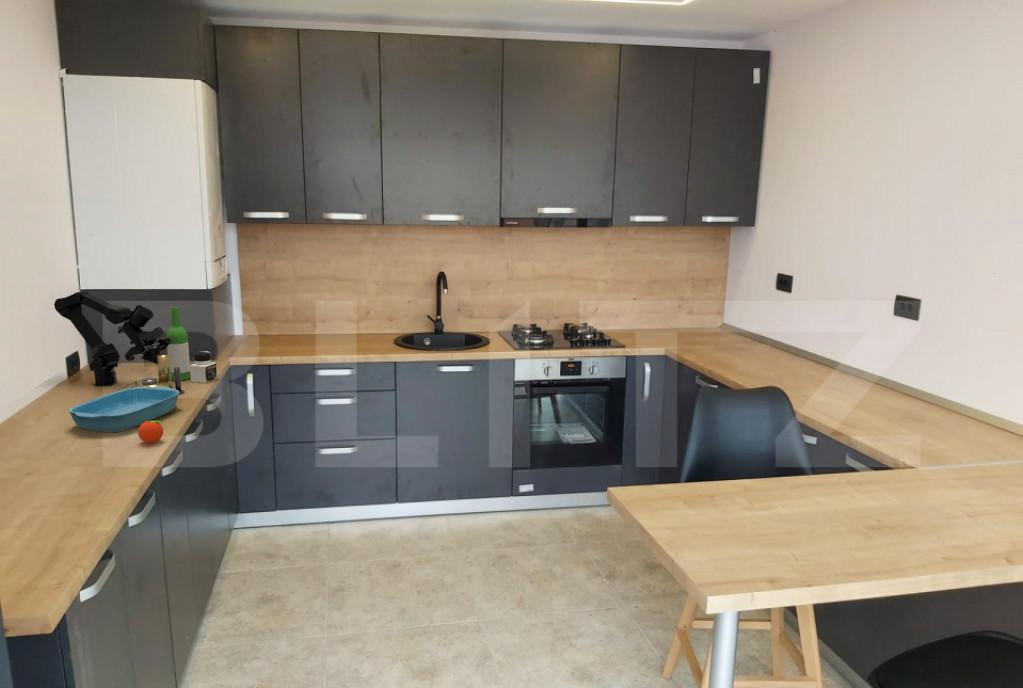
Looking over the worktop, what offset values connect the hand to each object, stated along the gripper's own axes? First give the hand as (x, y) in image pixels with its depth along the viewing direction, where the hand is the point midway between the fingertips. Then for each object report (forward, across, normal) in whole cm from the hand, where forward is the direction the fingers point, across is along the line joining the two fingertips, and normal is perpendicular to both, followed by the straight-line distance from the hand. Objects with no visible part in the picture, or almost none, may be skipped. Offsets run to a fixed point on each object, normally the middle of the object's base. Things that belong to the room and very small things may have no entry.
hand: (163, 365), depth 262 cm
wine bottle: (+3, +16, +13) cm, 20 cm away
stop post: (+12, -1, +2) cm, 12 cm away
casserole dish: (+16, -31, -2) cm, 35 cm away
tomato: (+32, -46, -20) cm, 60 cm away
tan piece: (+5, -7, +5) cm, 10 cm away
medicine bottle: (+10, +18, +5) cm, 21 cm away
